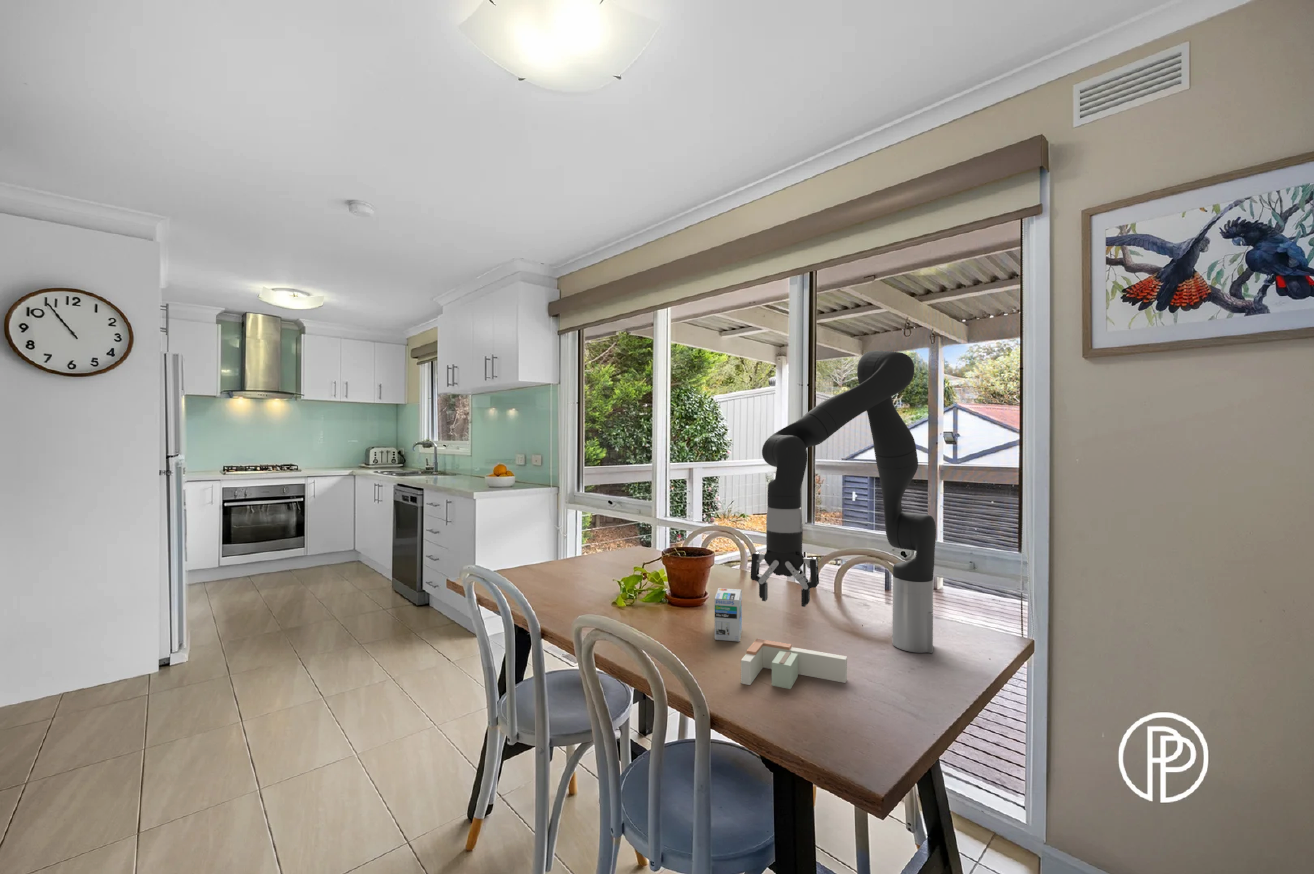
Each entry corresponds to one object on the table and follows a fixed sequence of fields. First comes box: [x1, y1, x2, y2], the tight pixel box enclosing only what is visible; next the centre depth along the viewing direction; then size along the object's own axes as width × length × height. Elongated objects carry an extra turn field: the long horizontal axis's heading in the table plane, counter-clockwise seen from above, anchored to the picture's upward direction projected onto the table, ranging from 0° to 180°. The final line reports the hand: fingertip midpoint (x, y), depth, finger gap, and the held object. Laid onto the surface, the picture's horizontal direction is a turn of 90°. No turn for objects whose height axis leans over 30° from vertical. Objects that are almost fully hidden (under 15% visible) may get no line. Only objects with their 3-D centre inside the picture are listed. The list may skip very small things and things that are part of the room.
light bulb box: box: [713, 587, 743, 642], centre depth 151 cm, size 11×7×11 cm, turn 168°
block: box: [771, 651, 799, 690], centre depth 123 cm, size 7×4×5 cm, turn 154°
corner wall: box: [740, 638, 848, 686], centre depth 122 cm, size 20×12×6 cm, turn 64°
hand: (784, 602), depth 123 cm, fingers open, 8 cm apart
